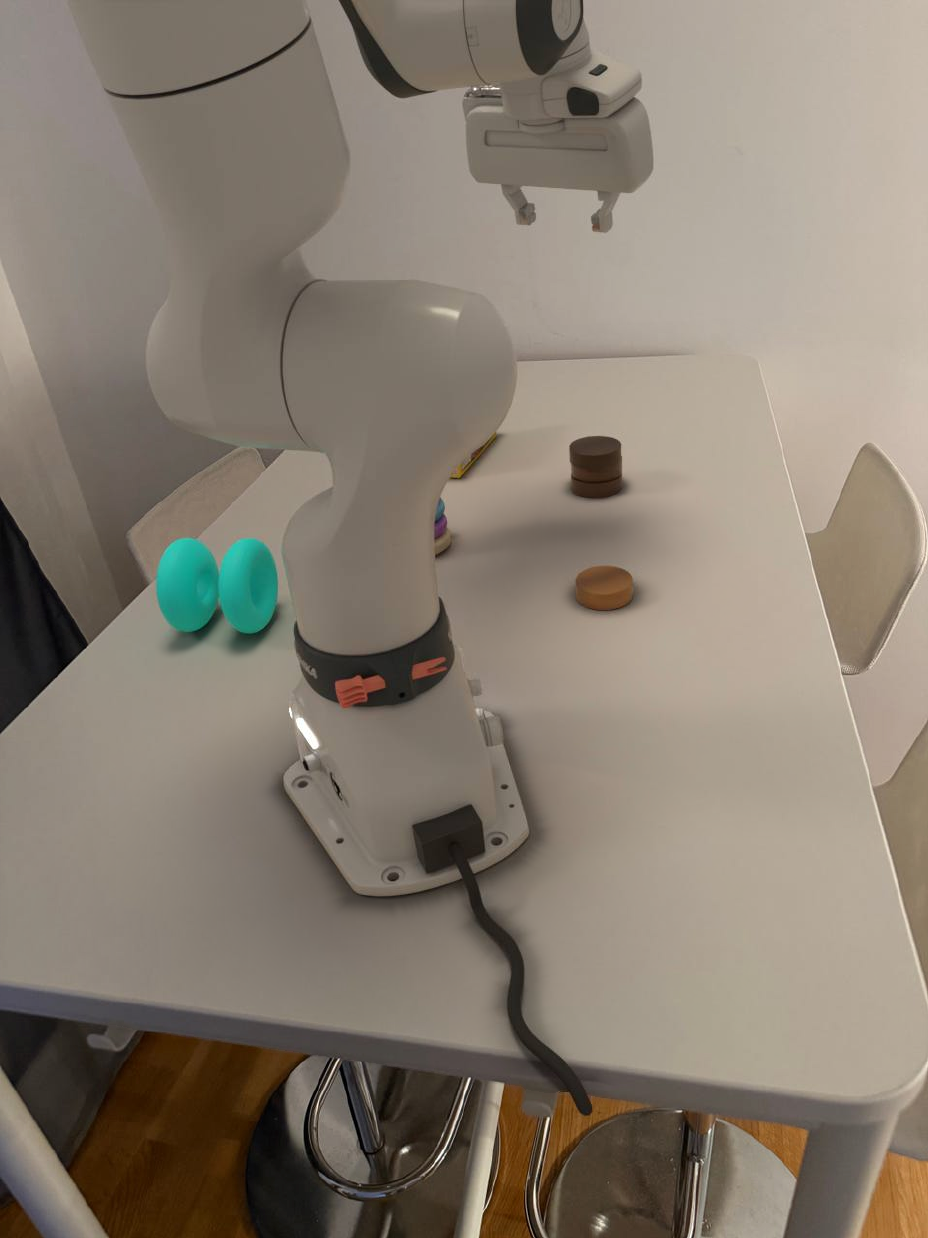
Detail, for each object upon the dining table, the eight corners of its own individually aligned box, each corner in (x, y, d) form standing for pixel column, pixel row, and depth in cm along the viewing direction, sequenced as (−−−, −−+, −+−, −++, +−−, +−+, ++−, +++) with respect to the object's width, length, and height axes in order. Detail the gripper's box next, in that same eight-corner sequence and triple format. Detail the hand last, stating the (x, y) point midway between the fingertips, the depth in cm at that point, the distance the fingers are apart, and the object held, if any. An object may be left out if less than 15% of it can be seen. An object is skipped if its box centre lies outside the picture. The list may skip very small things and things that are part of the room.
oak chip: (643, 601, 96) (643, 584, 95) (591, 615, 94) (591, 599, 93) (615, 576, 101) (615, 560, 100) (566, 589, 99) (565, 573, 98)
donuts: (255, 652, 94) (234, 567, 89) (167, 649, 96) (140, 566, 91) (288, 601, 102) (270, 521, 97) (206, 600, 104) (184, 521, 99)
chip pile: (633, 490, 119) (633, 447, 116) (584, 503, 117) (583, 459, 114) (607, 472, 125) (607, 430, 121) (560, 483, 123) (559, 441, 120)
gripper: (441, 95, 91) (468, 231, 101) (623, 97, 81) (634, 248, 91) (477, 72, 95) (500, 206, 104) (657, 70, 84) (664, 220, 94)
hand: (563, 226), depth 97 cm, fingers open, 8 cm apart
